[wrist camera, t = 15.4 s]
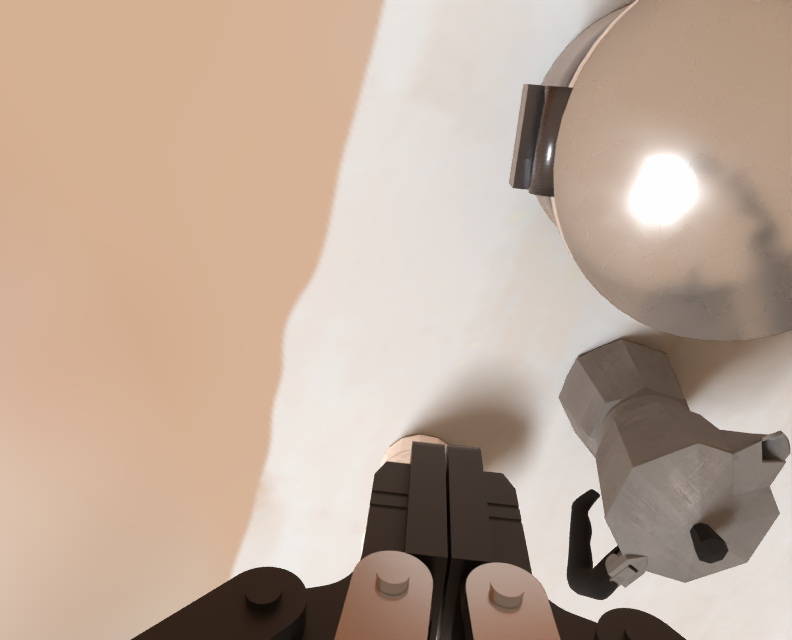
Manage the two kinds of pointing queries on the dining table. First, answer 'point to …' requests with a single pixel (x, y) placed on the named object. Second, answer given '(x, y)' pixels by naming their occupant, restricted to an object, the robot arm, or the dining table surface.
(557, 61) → the pot
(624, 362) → the coffeepot
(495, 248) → the dining table surface
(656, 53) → the lid
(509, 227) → the dining table surface
